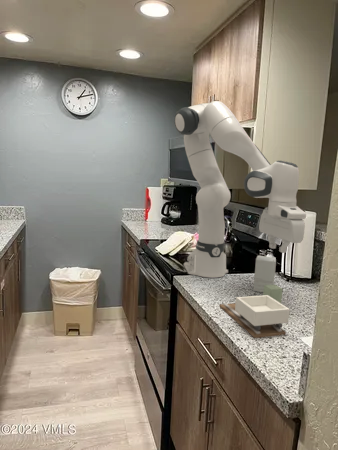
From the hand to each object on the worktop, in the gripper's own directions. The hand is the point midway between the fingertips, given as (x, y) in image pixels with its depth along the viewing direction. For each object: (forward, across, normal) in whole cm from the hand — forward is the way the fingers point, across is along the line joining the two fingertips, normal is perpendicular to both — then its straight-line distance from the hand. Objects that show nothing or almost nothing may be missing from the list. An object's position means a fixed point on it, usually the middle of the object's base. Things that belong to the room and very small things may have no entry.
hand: (277, 250), depth 119 cm
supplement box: (+19, -13, +5) cm, 24 cm away
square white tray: (+18, +16, -15) cm, 28 cm away
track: (+19, +10, -15) cm, 26 cm away
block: (+19, 0, 0) cm, 19 cm away
